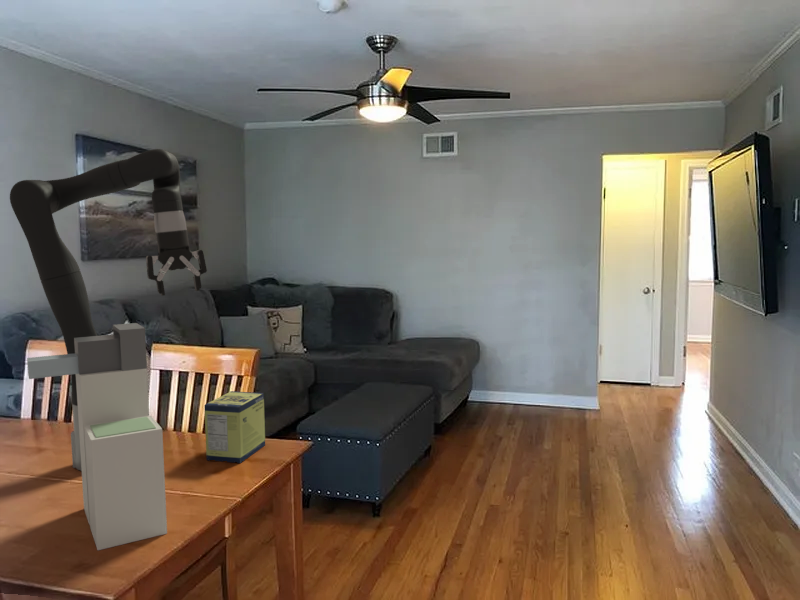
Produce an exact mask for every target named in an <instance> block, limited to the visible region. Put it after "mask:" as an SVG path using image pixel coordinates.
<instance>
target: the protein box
mask: <svg viewBox="0 0 800 600" xmlns="http://www.w3.org/2000/svg"><path fill="white" fill-rule="evenodd" d="M264 396H265V394H264V392H253V391H250V392H249V391H248V392H247V391H236V390H235V391H233V390H232V391H229V392H227V393H225V394H223V395H221V396H218V397H217V398H215V399H213V400H211V401H209V402H207V403H205V404H204V406H203V407H204V424H205V425H204V427H205V428H204V429H205V430H204V431H205V449H206V450H205V451H206V454H205V455H206V460H207V461H210V460H215V461H214V462H223V461H227V462H226V463H235V462H237V463H236V464H242V463H243V462H245V459H246V460H247V459H248V458H251V456H252V455H253V454H255V453H257V452H258V451H259V450H261V449H263V447H265V446H266V426H265V423H266V421H265V420H266V419H265V397H264ZM242 461H243V462H242Z"/></svg>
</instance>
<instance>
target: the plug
mask: <svg viewBox="0 0 800 600" xmlns="http://www.w3.org/2000/svg"><path fill="white" fill-rule="evenodd" d="M74 345H75V353H74V354H67V353H65V354H56V355H53V354H52V355H46V356H43V355H42V356H34V357H27V358H26V361H27V362H26V364H27V376H28V379H29V380H34V379H35V380H36V379H44V378H52V377H59V376H60V377H61V376H71V374H79V375H81V374H90V373H99V372H108V371H117V370H122V369H121V350H120V334H114V335H113V334H103V335H98V336H90V337H78V338H74Z"/></svg>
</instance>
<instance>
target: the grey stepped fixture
mask: <svg viewBox="0 0 800 600" xmlns="http://www.w3.org/2000/svg"><path fill="white" fill-rule="evenodd" d="M114 334H120V350H121V369H122V370H117V371H108V372H99V373H90V374H81V375H79V374H76V388H77V404H78V420H79V436H80V453H81V469H82V471H81V480H82V481H81V483H82V498H83V499H82V501H83V510H84V514H85V516H86V519H87V522H88V525H89V529H90V531H91V534H92V537H93V541H94V543H95V546H96V551H102V550H106V549H109V548H113V547H114V548H115V547H118V546H121V545H125V544H129V543H130V544H131V543H134V542H138V541H142V540H146V539H150V538H155V537H159V536H162V535H167V534H168V523H167V522H168V521H167V502H166V499H167V498H166V481H165V463H164V462H165V460H164V458H165V457H164V442H163V441H164V438H163V437H164V436H163V428H162V427H161V426H160V424H159V423H158V422H157V421H156V420H155V419H154V417H153V416H152V415H150V405H149V403H150V402H149V386H148V385H149V384H148V366H147V365H148V363H147V347H146V346H147V345H146V344H147V342H146V328H145V327H144V326H143V325H140V324H139V323H137V322H132V323H123V324H122V323H118V324H112V335H114Z"/></svg>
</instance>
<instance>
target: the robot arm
mask: <svg viewBox="0 0 800 600" xmlns="http://www.w3.org/2000/svg"><path fill="white" fill-rule="evenodd" d="M180 171H181V170H180V164H179V161H178V159H177V157H176V155H174V154H173V153H171V152H169V151H167V150H165V149H161V148H155V149H148V150H146V151H142V152H141V153H138V154H136V155H133V156H130V157H129V158H126V159H120V160H117V161H113V162H110V163H107V164H106V163H105V164H102V165H100V166H98V167H95V168H92V169H90V170H88V171H85V172H82V173H80V174H77V175H74V176H70V177H65V178H58V179H51V180H41V179H24V180H20V181H17V182H16V183H15V184H14V185H13V186H12V187H11V190H10V193H9V201H10V207H11V208H12V211H13V213H14V215H15V217H16V219H17V221H18V223H19V224H20V227H21V229H22V232H23V233H24V237H25V239H26V241H27V243H28V246H29V249H30V252H31V256H32V259H33V261H34V265H35V267H36V269H37V270H36V271H37V273H38V276H39V280H40V283H41V286H42V289H43V292H44V295H45V297H46V300H47V301H48V304H49V307H50V309H51V310H52V313H53V315H54V317H55V320H56V321H57V324H58V326H59V328H60V331H61V333H62V337H63V341H64V344H65V349H66V354H74V353H75V345H74V338H78V337H90V336H99V335H98V333H97V331H96V329H95V325H94V323H93V319H92V315H91V314H92V313H91V308H90V307H91V306H90V301H89V297H88V292H87V287H86V284H85V281H84V278H83V275H82V272H81V269H80V266H79V263H78V262H77V261H76V258H75V257H74V256H73V253H71V251H70V250H69V249H68V247H67V245H66V244H65V243H64V241H63V240H62V238H61V236H60V234H59V232H58V230H57V228H56V227H57V226H56V223H55V220H54V216H53V214H55V213H56V212H58V211H61V210H63V209H65V208H67V207H69V206H72V205H74V204H76V203H79V202H82V201H85V200H89V199H92V198H96V197H100V196H105V195H109V194H113V193H117V192H121V191H124V190H128V189H131V188H135V187H137V186H139V185H141V183H145V182H148V181H152V183H153V191H152V193H151V202H152V203H151V204H152V210H153V217H154V219H153V223H154V231H155V237H156V243H157V249H158V254H157V255H147V256H146V257H145V262H146V272H147V278H148V279H149V280H152V281H155V283H156V290H157V293H158V294H159V295H160V296H161V297H163V296H166V293H165V292H166V291H165V287H164V281H163V278H164V277H165V275H166V274H167V272H168V271H175V270H184V269H187V270H188V271H190V273H192V274H193V277H192V278H193V285H194V291H195V292H199V291H200V289H201V288H202V282H201V275H203V274H207V271H208V269H207V265H206V259H205V255H204V251H203V250H202V249H198V250H195V251H192V250H191V248H190V243H189V235H188V228H187V221H186V217H185V214H184V211H183V210H184V208H183V201H182V196H181V172H180ZM193 256H194V258H195V259H196V260H197V261H198V266H199V269H197V268H195V266H194V265H193V264H192V263H191V262H190V261H191V259H192V257H193ZM157 260H158V262H160V263H161V265H162V266H161V268H159V271H158V273H157V274H156V275H155V274H154V273H155V272H154V265H155V264H156V263H157ZM70 376H71V403H72V404H71V405H72V406H71V407H72V418H73V431H71V432H70V442H71V445H70V446H71V457H72V458H71V460H72V468H74V469H77V470H78V471H81V472H82V469H81V453H80V436H79V420H78V404H77V388H76V374H71V375H70Z"/></svg>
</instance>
